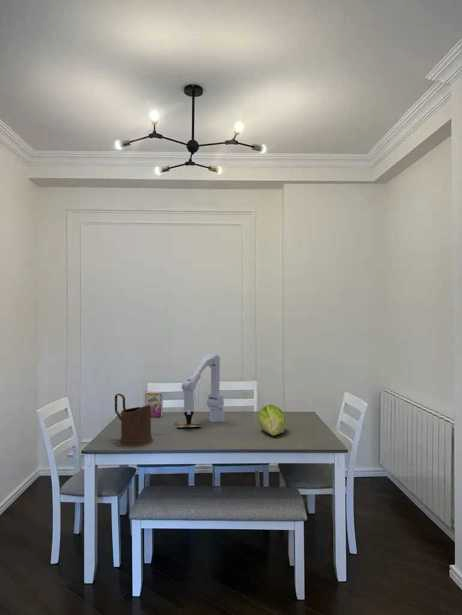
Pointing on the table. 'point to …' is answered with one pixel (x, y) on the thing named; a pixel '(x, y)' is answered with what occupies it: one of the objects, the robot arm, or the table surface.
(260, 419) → the lettuce
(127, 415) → the brown metal pitcher
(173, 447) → the table surface
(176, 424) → the grey long block
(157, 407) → the candy bar box
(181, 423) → the flip panel
